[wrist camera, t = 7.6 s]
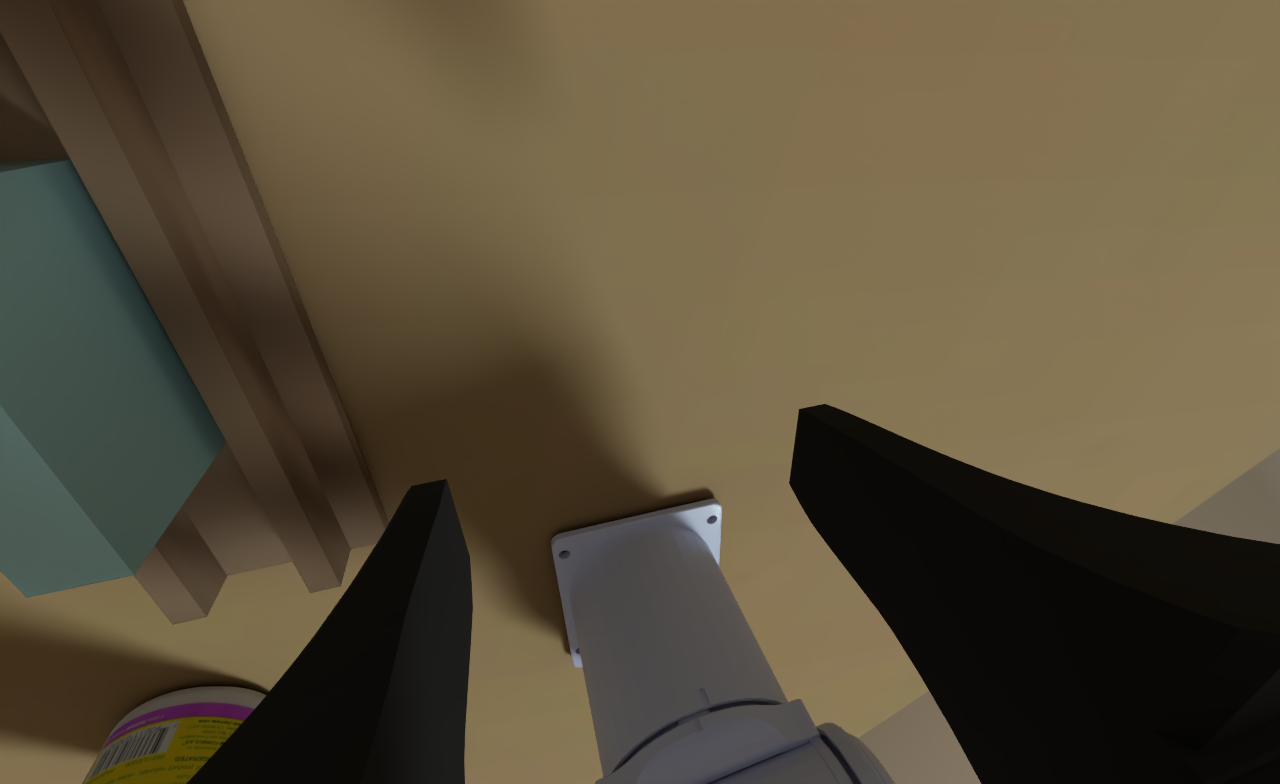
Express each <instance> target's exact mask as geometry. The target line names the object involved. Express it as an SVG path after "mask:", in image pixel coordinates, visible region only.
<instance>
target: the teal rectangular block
mask: <svg viewBox="0 0 1280 784" xmlns="http://www.w3.org/2000/svg"><path fill="white" fill-rule="evenodd" d="M225 443H226V440H225V438H224V436H223V434H222V433H221V431H220V429H219V427H218V425H217V424H216V422H215V420H214V418H213V416H212V415H211V413H210V411H209V409H208V407H207V405H206V404H205V402H204V400H203V398H202V396H201V395H200V393H199V391H198V389H197V387H196V386H195V384H194V382H193V380H192V378H191V376H190V375H189V373H188V371H187V369H186V367H185V366H184V364H183V362H182V360H181V358H180V357H179V355H178V353H177V351H176V349H175V347H174V346H173V344H172V342H171V340H170V338H169V337H168V335H167V333H166V331H165V329H164V328H163V326H162V324H161V322H160V320H159V319H158V317H157V315H156V313H155V311H154V309H153V308H152V306H151V304H150V302H149V300H148V299H147V297H146V295H145V293H144V291H143V290H142V288H141V286H140V284H139V282H138V280H137V279H136V277H135V275H134V273H133V271H132V270H131V268H130V266H129V264H128V262H127V261H126V259H125V257H124V255H123V253H122V251H121V250H120V248H119V246H118V244H117V242H116V241H115V239H114V237H113V235H112V233H111V232H110V230H109V228H108V226H107V224H106V222H105V221H104V219H103V217H102V215H101V213H100V212H99V210H98V208H97V206H96V204H95V203H94V201H93V199H92V197H91V195H90V193H89V192H88V190H87V188H86V186H85V184H84V183H83V181H82V179H81V177H80V175H79V174H78V172H77V170H76V168H75V166H74V164H73V163H72V161H71V159H70V158H56V159H41V160H26V161H11V162H0V571H1V572H2V573H3V574H4V575H5V576H6V577H7V578H8V579H9V580H10V581H11V582H12V583H13V584H14V585H15V586H16V587H17V588H18V589H19V590H20V591H21V592H22V593H23V594H24V595H25V596H26V597H32V596H37V595H41V594H46V593H51V592H56V591H60V590H65V589H70V588H75V587H80V586H84V585H89V584H94V583H99V582H103V581H108V580H113V579H118V578H122V577H127V576H132V575H135V573H136V572H137V570H138V569H139V567H140V566H141V564H142V563H143V562H144V560H145V559H146V557H147V556H148V554H149V553H150V551H151V550H152V549H153V547H154V546H155V544H156V543H157V541H158V540H159V538H160V537H161V536H162V534H163V533H164V531H165V530H166V528H167V527H168V525H169V524H170V523H171V521H172V520H173V518H174V517H175V515H176V514H177V512H178V511H179V510H180V508H181V507H182V505H183V504H184V502H185V501H186V499H187V498H188V497H189V495H190V494H191V492H192V491H193V489H194V488H195V486H196V485H197V484H198V482H199V481H200V479H201V478H202V476H203V475H204V473H205V472H206V470H207V469H208V468H209V466H210V465H211V463H212V462H213V460H214V459H215V457H216V456H217V455H218V453H219V452H220V450H221V449H222V447H223V446H224V444H225Z"/></svg>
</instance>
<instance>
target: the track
mask: <svg viewBox="0 0 1280 784" xmlns="http://www.w3.org/2000/svg"><path fill="white" fill-rule="evenodd" d="M56 158H70V159H71V161H72V163H73V164H74V166H75V168H76V170H77V172H78V174H79V175H80V177H81V179H82V181H83V183H84V184H85V186H86V188H87V190H88V192H89V193H90V195H91V197H92V199H93V201H94V203H95V204H96V206H97V208H98V210H99V212H100V213H101V215H102V217H103V219H104V221H105V222H106V224H107V226H108V228H109V230H110V232H111V233H112V235H113V237H114V239H115V241H116V242H117V244H118V246H119V248H120V250H121V251H122V253H123V255H124V257H125V259H126V261H127V262H128V264H129V266H130V268H131V270H132V271H133V273H134V275H135V277H136V279H137V280H138V282H139V284H140V286H141V288H142V290H143V291H144V293H145V295H146V297H147V299H148V300H149V302H150V304H151V306H152V308H153V309H154V311H155V313H156V315H157V317H158V319H159V320H160V322H161V324H162V326H163V328H164V329H165V331H166V333H167V335H168V337H169V338H170V340H171V342H172V344H173V346H174V347H175V349H176V351H177V353H178V355H179V357H180V358H181V360H182V362H183V364H184V366H185V367H186V369H187V371H188V373H189V375H190V376H191V378H192V380H193V382H194V384H195V386H196V387H197V389H198V391H199V393H200V395H201V396H202V398H203V400H204V402H205V404H206V405H207V407H208V409H209V411H210V413H211V415H212V416H213V418H214V420H215V422H216V424H217V425H218V427H219V429H220V431H221V433H222V434H223V436H224V438H225V440H226V443H225V444H224V446H223V447H222V449H221V450H220V452H219V453H218V455H217V456H216V457H215V459H214V460H213V462H212V463H211V465H210V466H209V468H208V469H207V470H206V472H205V473H204V475H203V476H202V478H201V479H200V481H199V482H198V484H197V485H196V486H195V488H194V489H193V491H192V492H191V494H190V495H189V497H188V498H187V499H186V501H185V502H184V504H183V505H182V507H181V508H180V510H179V511H178V512H177V514H176V515H175V517H174V518H173V520H172V521H171V523H170V524H169V525H168V527H167V528H166V530H165V531H164V533H163V534H162V536H161V537H160V538H159V540H158V541H157V543H156V544H155V546H154V547H153V549H152V550H151V551H150V553H149V554H148V556H147V557H146V559H145V560H144V562H143V563H142V564H141V566H140V567H139V569H138V570H137V572H136V573H135V575H134V576H135V578H136V579H137V580H138V581H139V583H140V584H141V585H142V586H143V588H144V589H145V590H146V592H147V593H148V594H149V595H150V597H151V598H152V599H153V600H154V602H155V603H156V604H157V605H158V607H159V608H160V609H161V610H162V612H163V613H164V614H165V616H166V617H167V618H168V619H169V621H170V622H171V623H172V624H173V625H174V624H178V623H182V622H187V621H191V620H195V619H200V618H204V617H207V615H208V613H209V611H210V609H211V607H212V605H213V603H214V601H215V599H216V597H217V595H218V593H219V591H220V589H221V587H222V585H223V583H224V581H225V579H226V577H227V576H228V575H233V574H237V573H242V572H246V571H251V570H256V569H260V568H265V567H269V566H274V565H279V564H283V563H288V562H292V561H293V563H294V565H295V567H296V569H297V570H298V572H299V574H300V576H301V578H302V579H303V581H304V583H305V585H306V587H307V588H308V590H309V592H310V593H313V592H317V591H322V590H326V589H330V588H335V587H339V586H341V584H342V580H343V576H344V572H345V569H346V565H347V561H348V557H349V553H350V550H351V549H352V548H357V547H362V546H366V545H371V544H375V543H378V541H379V539H380V538H381V536H382V534H383V533H384V531H385V529H386V528H387V526H388V524H389V522H388V520H387V517H386V514H385V512H384V509H383V507H382V504H381V502H380V499H379V497H378V494H377V492H376V489H375V487H374V484H373V482H372V479H371V476H370V474H369V471H368V469H367V466H366V464H365V461H364V459H363V456H362V454H361V451H360V449H359V446H358V444H357V441H356V439H355V436H354V433H353V431H352V428H351V426H350V423H349V421H348V418H347V416H346V413H345V411H344V408H343V406H342V403H341V401H340V398H339V395H338V393H337V390H336V388H335V385H334V383H333V380H332V378H331V375H330V373H329V370H328V368H327V365H326V363H325V360H324V357H323V355H322V352H321V350H320V347H319V345H318V342H317V340H316V337H315V335H314V332H313V330H312V327H311V325H310V322H309V319H308V317H307V314H306V312H305V309H304V307H303V304H302V302H301V299H300V297H299V294H298V292H297V289H296V287H295V284H294V281H293V279H292V276H291V274H290V271H289V269H288V266H287V264H286V261H285V259H284V256H283V254H282V251H281V249H280V246H279V244H278V241H277V238H276V236H275V233H274V231H273V228H272V226H271V223H270V221H269V218H268V216H267V213H266V211H265V208H264V206H263V203H262V200H261V198H260V195H259V193H258V190H257V188H256V185H255V183H254V180H253V178H252V175H251V173H250V170H249V168H248V165H247V162H246V160H245V157H244V155H243V152H242V150H241V147H240V145H239V142H238V140H237V137H236V135H235V132H234V130H233V127H232V124H231V122H230V119H229V117H228V114H227V112H226V109H225V107H224V104H223V102H222V99H221V97H220V94H219V92H218V89H217V87H216V84H215V81H214V79H213V76H212V74H211V71H210V69H209V66H208V64H207V61H206V59H205V56H204V54H203V51H202V49H201V46H200V43H199V41H198V38H197V36H196V33H195V31H194V28H193V26H192V23H191V21H190V18H189V16H188V13H187V11H186V8H185V5H184V3H183V0H0V162H11V161H26V160H41V159H56Z"/></svg>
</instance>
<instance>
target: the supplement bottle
mask: <svg viewBox="0 0 1280 784" xmlns="http://www.w3.org/2000/svg"><path fill="white" fill-rule="evenodd" d="M265 696H266V695H265V694H263V693H260V692H257V691H254V690H250V689H246V688H239V687H231V686H209V687H195V688H188V689H183V690H178V691H174V692H170V693H167V694H164V695H161V696H159V697H156V698H154V699H152V700H149V701H147V702H145V703H144V704H142V705H140V706H138V707H137V708H135V709H134V710H132V711H131V712H130V713H128V714H127V715H126V716H125V717H124V718H123V719H122V720H121V721H120V722H119V723H118V724H117V725H116V726H115V728H114V729H113V730H112V732H111V733H110V735H109V737H108V738H107V740H106V742H105V743H104V745H103V747H102V749H101V750H100V752H99V754H98V756H97V758H96V759H95V761H94V763H93V765H92V767H91V769H90V770H89V772H88V774H87V776H86V777H85V779H84V781H83V783H82V784H186V783H187V782H188V781H189V780H190V779H191V778H192V777H193V776H194V775H195V774H196V773H197V771H198V770H199V769H200V768H201V767H202V766H203V765H204V764H205V763H206V762H207V761H208V760H209V758H210V757H211V756H212V755H213V754H214V753H215V752H216V751H217V750H218V749H219V748H220V747H221V745H222V744H223V743H224V742H225V741H226V740H227V739H228V738H229V737H230V736H231V735H232V734H233V732H234V731H235V730H236V729H237V728H238V727H239V726H240V725H241V724H242V723H243V721H244V720H245V719H246V718H247V717H248V716H249V715H250V714H251V712H252V711H253V710H254V709H255V708H256V707H257V706H258V705H259V703H260V702H261V701H262V700H263V699H264V698H265Z"/></svg>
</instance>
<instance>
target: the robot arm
mask: <svg viewBox="0 0 1280 784" xmlns="http://www.w3.org/2000/svg"><path fill="white" fill-rule="evenodd" d="M789 484H790V486H791V488H792V490H793V491H794V493H795V495H796V497H797V499H798V501H799V502H800V504H801V506H802V508H803V509H804V511H805V513H806V515H807V516H808V518H809V520H810V521H811V523H812V524H813V526H814V527H815V528H816V530H817V531H818V533H819V534H820V535H821V537H822V538H823V539H824V541H825V542H826V543H827V545H828V546H829V547H830V549H831V550H832V551H833V552H834V554H835V555H836V556H837V558H838V559H839V560H840V562H841V563H842V564H843V566H844V567H845V568H846V569H847V571H848V572H849V573H850V575H851V576H852V577H853V578H854V580H855V581H856V582H857V584H858V585H859V586H860V588H861V589H862V590H863V591H864V593H865V594H866V595H867V597H868V598H869V599H870V601H871V602H872V603H873V604H874V606H875V607H876V608H877V610H878V611H879V613H880V614H881V615H882V617H883V618H884V620H885V621H886V622H887V624H888V625H889V627H890V628H891V629H892V631H893V633H894V634H895V636H896V637H897V639H898V641H899V642H900V644H901V645H902V647H903V649H904V650H905V652H906V653H907V655H908V657H909V658H910V660H911V661H912V663H913V665H914V666H915V668H916V669H917V671H918V673H919V674H920V676H921V677H922V679H923V681H924V683H925V684H926V686H927V688H928V689H929V691H930V693H931V694H932V696H933V698H934V699H935V701H936V703H937V705H938V706H939V708H940V710H941V711H942V713H943V715H944V717H945V718H946V720H947V722H948V723H949V725H950V727H951V729H952V731H953V732H954V734H955V736H956V738H957V740H958V742H959V743H960V745H961V747H962V749H963V751H964V753H965V754H966V756H967V758H968V760H969V762H970V764H971V765H972V767H973V769H974V771H975V773H976V775H977V776H978V778H979V780H980V782H981V784H1280V544H1274V543H1268V542H1262V541H1256V540H1250V539H1243V538H1237V537H1231V536H1226V535H1221V534H1216V533H1211V532H1206V531H1202V530H1197V529H1191V528H1186V527H1182V526H1177V525H1172V524H1168V523H1163V522H1159V521H1154V520H1150V519H1146V518H1141V517H1137V516H1133V515H1129V514H1125V513H1121V512H1117V511H1114V510H1110V509H1106V508H1102V507H1098V506H1094V505H1091V504H1087V503H1083V502H1079V501H1076V500H1073V499H1069V498H1066V497H1062V496H1059V495H1055V494H1052V493H1049V492H1046V491H1043V490H1040V489H1037V488H1034V487H1031V486H1027V485H1024V484H1021V483H1018V482H1015V481H1012V480H1009V479H1006V478H1003V477H1001V476H998V475H995V474H992V473H990V472H987V471H984V470H982V469H979V468H977V467H974V466H971V465H969V464H966V463H964V462H961V461H958V460H956V459H953V458H951V457H949V456H946V455H944V454H941V453H939V452H936V451H934V450H932V449H929V448H927V447H925V446H922V445H920V444H918V443H915V442H913V441H911V440H909V439H906V438H904V437H902V436H899V435H897V434H895V433H893V432H890V431H888V430H886V429H884V428H881V427H879V426H877V425H875V424H873V423H870V422H868V421H866V420H864V419H861V418H859V417H857V416H854V415H852V414H850V413H847V412H845V411H842V410H840V409H837V408H835V407H832V406H829V405H826V404H823V405H818V406H812V407H807V408H802V409H799V414H798V422H797V429H796V437H795V444H794V452H793V459H792V467H791V474H790V482H789ZM710 516H712V517H710ZM709 517H710V518H709ZM721 520H722V506H721V504H720V503H719V501H718V500H716V499H707V500H703V501H699V502H694V503H690V504H686V505H681V506H677V507H673V508H668V509H664V510H659V511H655V512H651V513H646V514H642V515H638V516H633V517H629V518H624V519H620V520H616V521H611V522H607V523H603V524H598V525H594V526H589V527H585V528H581V529H576V530H572V531H568V532H563V533H560V534H557V535H555V536H554V537H553V538H552V540H551V548H552V553H553V559H554V564H555V569H556V575H557V580H558V586H559V591H560V597H561V602H562V608H563V613H564V618H565V624H566V629H567V635H568V640H569V646H570V651H571V657H572V662H573V665H574V666H575V667H578V668H581V667H583V671H584V677H585V682H586V687H587V693H588V698H589V703H590V708H591V714H592V719H593V724H594V730H595V735H596V740H597V745H598V751H599V756H600V761H601V766H602V772H603V777H604V778H601V779H599V780H597V781H596V783H595V784H895V783H894V781H893V780H892V778H891V777H890V775H889V774H888V772H887V771H886V770H885V768H884V767H883V765H882V764H881V763H880V761H879V760H878V759H877V758H876V756H875V755H874V754H873V753H872V752H871V750H870V749H869V748H868V747H867V746H866V745H865V744H864V743H863V742H862V741H860V740H859V739H858V738H856V737H855V736H853V735H851V734H849V733H847V732H845V731H844V730H843V729H842V728H841V727H839V726H837V725H836V724H834V723H824V724H821V725H819V726H817V727H816V726H815V724H814V723H813V721H812V719H811V717H810V715H809V713H808V711H807V710H806V708H805V706H804V704H803V702H802V700H801V699H796V700H793V701H791V702H788V701H787V699H786V697H785V695H784V693H783V691H782V689H781V687H780V685H779V683H778V681H777V679H776V677H775V675H774V673H773V671H772V669H771V667H770V665H769V663H768V662H767V660H766V658H765V656H764V654H763V652H762V650H761V648H760V646H759V644H758V642H757V640H756V638H755V636H754V634H753V632H752V630H751V628H750V626H749V624H748V622H747V621H746V619H745V617H744V615H743V613H742V611H741V609H740V607H739V605H738V603H737V601H736V599H735V597H734V595H733V593H732V591H731V589H730V587H729V585H728V583H727V581H726V580H725V578H724V576H723V574H722V572H721V570H720V568H719V560H720V540H721ZM566 550H567V551H566ZM562 551H566V552H564V553H561V552H562ZM472 612H473V603H472V583H471V567H470V556H469V552H468V549H467V546H466V542H465V539H464V536H463V532H462V529H461V526H460V522H459V519H458V516H457V512H456V509H455V506H454V502H453V499H452V496H451V492H450V489H449V486H448V482H447V479H445V480H440V481H435V482H429V483H424V484H419V485H414V486H411V488H410V489H409V490H408V491H407V493H406V495H405V496H404V498H403V500H402V502H401V503H400V505H399V507H398V509H397V510H396V512H395V514H394V516H393V517H392V519H391V521H390V522H389V524H388V526H387V528H386V529H385V531H384V533H383V534H382V536H381V538H380V539H379V541H378V543H377V544H376V546H375V547H374V549H373V551H372V552H371V554H370V555H369V557H368V558H367V560H366V561H365V563H364V565H363V566H362V568H361V569H360V571H359V572H358V574H357V575H356V577H355V579H354V580H353V582H352V583H351V585H350V586H349V588H348V589H347V591H346V592H345V593H344V595H343V596H342V598H341V599H340V600H339V602H338V603H337V605H336V606H335V607H334V609H333V610H332V612H331V613H330V614H329V616H328V617H327V619H326V620H325V621H324V623H323V624H322V626H321V627H320V628H319V630H318V631H317V633H316V634H315V635H314V637H313V638H312V639H311V641H310V642H309V643H308V644H307V646H306V647H305V648H304V650H303V651H302V652H301V654H300V655H299V656H298V657H297V659H296V660H295V661H294V662H293V664H292V665H291V666H290V667H289V669H288V670H287V671H286V672H285V674H284V675H283V676H282V677H281V678H280V680H279V681H278V682H277V683H276V684H275V686H274V687H273V688H272V689H271V690H270V692H269V693H268V694H267V695H266V696H265V698H264V699H263V700H262V701H261V702H260V703H259V705H258V706H257V707H256V708H255V709H254V710H253V711H252V712H251V714H250V715H249V716H248V717H247V718H246V719H245V720H244V721H243V723H242V724H241V725H240V726H239V727H238V728H237V729H236V730H235V731H234V732H233V734H232V735H231V736H230V737H229V738H228V739H227V740H226V741H225V742H224V743H223V744H222V745H221V747H220V748H219V749H218V750H217V751H216V752H215V753H214V754H213V755H212V756H211V757H210V758H209V760H208V761H207V762H206V763H205V764H204V765H203V766H202V767H201V768H200V769H199V770H198V771H197V773H196V774H195V775H194V776H193V777H192V778H191V779H190V780H189V781H188V782H187V783H186V784H465V774H464V748H465V723H466V707H467V692H468V677H469V662H470V646H471V629H472Z"/></svg>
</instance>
